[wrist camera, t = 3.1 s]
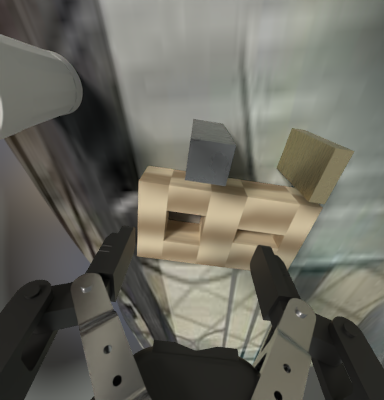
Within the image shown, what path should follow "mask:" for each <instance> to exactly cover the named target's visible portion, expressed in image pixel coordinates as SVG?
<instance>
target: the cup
mask: <svg viewBox="0 0 384 400" xmlns="http://www.w3.org/2000/svg"><path fill="white" fill-rule="evenodd" d="M82 97H83V89H82V84H81V81H80V78H79V76H78V74H77V72H76V70H75V69H74V67H73V66H72V65H71V64H70V63H69V62H68V61H67V60H66V59H65V58H64V57H62V56H61V55H59V54H57V53H55V52H52V51H48V50H44V49H40V48H38V47H35V46H32V45H29V44H26V43H23V42H21V41H18V40H15V39H12V38H9V37H7V36H4V35H1V34H0V140H1V139H4V138H6V137H8V136H11V135H13V134H16V133H18V132H20V131H22V130H23V129H26V128H29V127H31V126H34V125H37V124H39V123H42V122H45V121H47V120H50V119H53V118H55V117H58V116H62V115H67V114H70V113H73V112H74V111H76V110H77V109H78V107H79V106H80V104H81V101H82Z"/></svg>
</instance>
